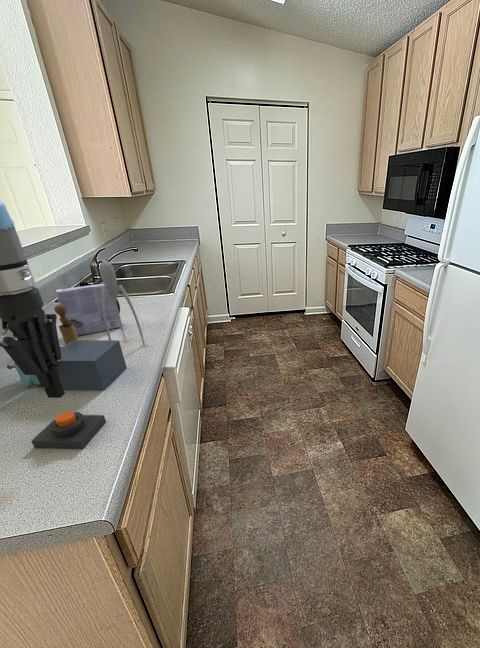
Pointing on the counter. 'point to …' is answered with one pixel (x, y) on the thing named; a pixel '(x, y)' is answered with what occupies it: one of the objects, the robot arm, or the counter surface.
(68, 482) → the counter surface
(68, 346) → the dark grey box
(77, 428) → the block
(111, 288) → the juicer
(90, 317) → the cake pan box
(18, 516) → the counter surface
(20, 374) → the drawer
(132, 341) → the counter surface
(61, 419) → the button
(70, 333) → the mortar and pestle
